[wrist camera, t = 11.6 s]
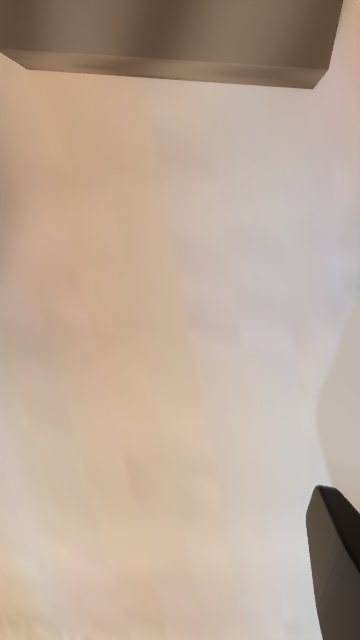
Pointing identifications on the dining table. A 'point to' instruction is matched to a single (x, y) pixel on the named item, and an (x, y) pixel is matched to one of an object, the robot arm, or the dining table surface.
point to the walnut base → (175, 38)
